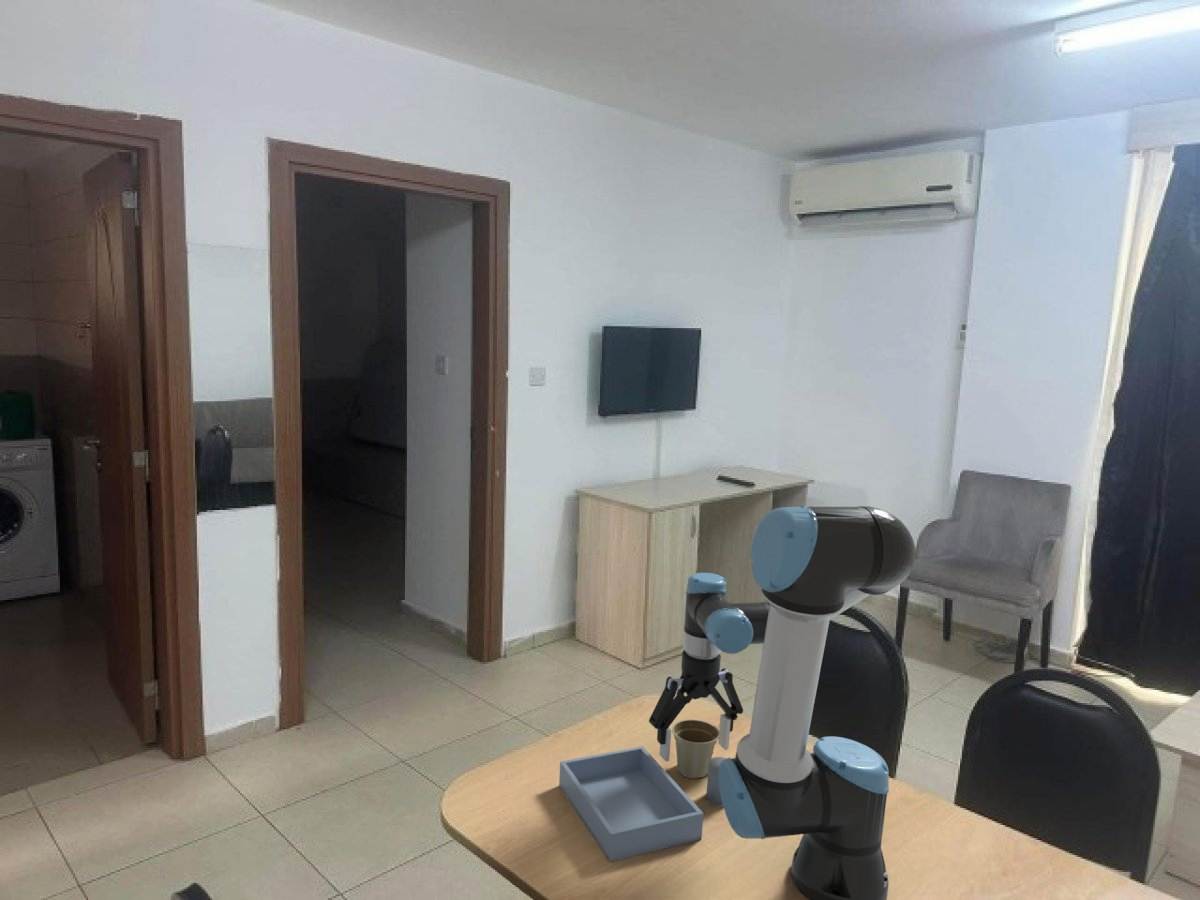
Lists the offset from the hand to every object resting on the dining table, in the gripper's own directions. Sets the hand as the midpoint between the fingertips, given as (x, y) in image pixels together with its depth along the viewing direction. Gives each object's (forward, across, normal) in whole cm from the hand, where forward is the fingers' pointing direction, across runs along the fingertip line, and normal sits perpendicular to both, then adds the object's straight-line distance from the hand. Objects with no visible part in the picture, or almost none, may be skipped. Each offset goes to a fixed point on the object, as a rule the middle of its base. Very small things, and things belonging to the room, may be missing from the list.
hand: (694, 752), depth 165 cm
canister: (+4, 0, +10) cm, 11 cm away
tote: (+4, +18, +8) cm, 21 cm away
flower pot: (+4, 0, 0) cm, 4 cm away
